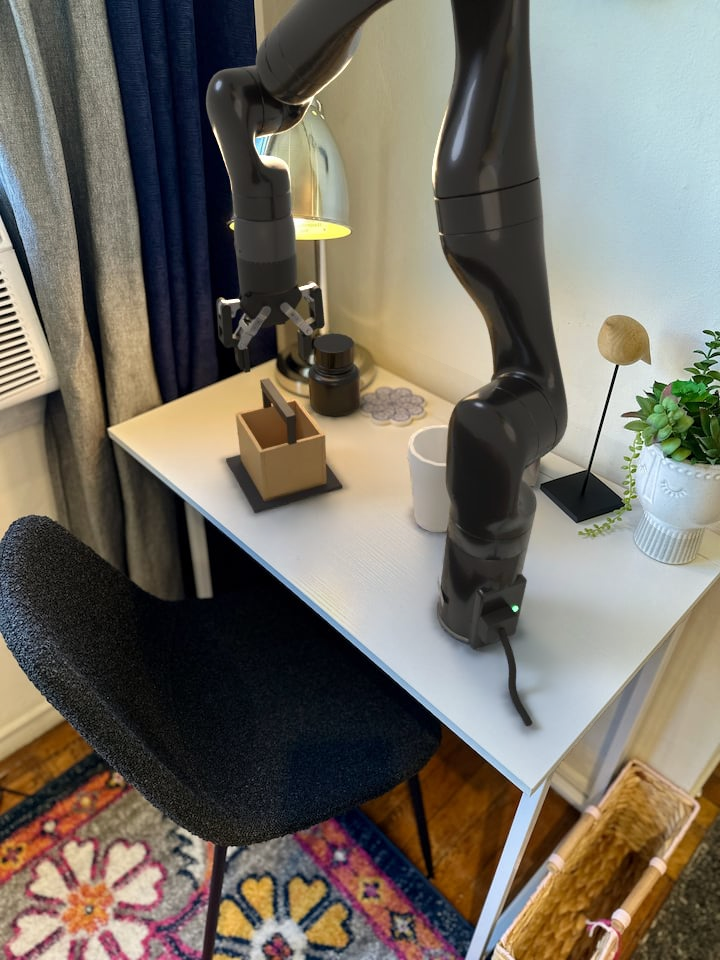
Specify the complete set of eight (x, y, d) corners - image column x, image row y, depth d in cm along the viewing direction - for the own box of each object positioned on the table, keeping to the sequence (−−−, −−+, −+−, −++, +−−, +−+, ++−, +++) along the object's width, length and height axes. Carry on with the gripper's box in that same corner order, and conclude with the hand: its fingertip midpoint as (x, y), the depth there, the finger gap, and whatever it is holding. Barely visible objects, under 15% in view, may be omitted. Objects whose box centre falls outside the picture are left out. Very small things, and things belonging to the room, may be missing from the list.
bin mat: (342, 487, 110) (342, 485, 109) (254, 513, 105) (254, 511, 104) (307, 438, 119) (307, 437, 119) (226, 460, 115) (225, 458, 114)
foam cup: (392, 525, 103) (396, 452, 95) (419, 489, 109) (425, 418, 101) (454, 548, 99) (464, 474, 91) (478, 509, 106) (489, 437, 98)
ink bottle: (342, 384, 133) (342, 325, 125) (371, 405, 127) (372, 345, 120) (298, 401, 128) (295, 340, 121) (325, 423, 123) (324, 361, 115)
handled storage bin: (326, 483, 110) (324, 407, 101) (264, 501, 106) (256, 424, 98) (299, 445, 117) (295, 371, 109) (240, 460, 114) (232, 386, 105)
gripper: (219, 268, 85) (234, 387, 95) (330, 249, 90) (333, 364, 100) (202, 247, 90) (217, 362, 100) (307, 230, 95) (312, 341, 105)
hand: (275, 363), depth 100 cm, fingers open, 8 cm apart
